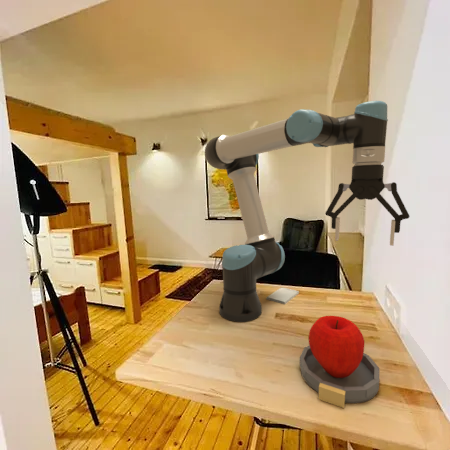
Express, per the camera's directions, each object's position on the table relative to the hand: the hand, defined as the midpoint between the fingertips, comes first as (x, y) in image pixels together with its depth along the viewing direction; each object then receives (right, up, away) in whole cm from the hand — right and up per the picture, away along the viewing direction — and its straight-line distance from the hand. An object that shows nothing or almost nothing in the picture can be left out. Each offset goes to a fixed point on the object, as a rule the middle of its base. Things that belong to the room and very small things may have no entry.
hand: (363, 242), depth 75 cm
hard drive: (-15, -25, +33) cm, 44 cm away
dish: (-12, -31, -11) cm, 35 cm away
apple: (-13, -30, -12) cm, 35 cm away
